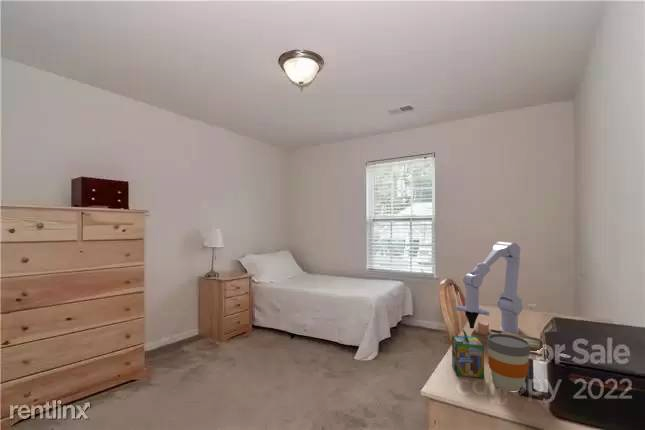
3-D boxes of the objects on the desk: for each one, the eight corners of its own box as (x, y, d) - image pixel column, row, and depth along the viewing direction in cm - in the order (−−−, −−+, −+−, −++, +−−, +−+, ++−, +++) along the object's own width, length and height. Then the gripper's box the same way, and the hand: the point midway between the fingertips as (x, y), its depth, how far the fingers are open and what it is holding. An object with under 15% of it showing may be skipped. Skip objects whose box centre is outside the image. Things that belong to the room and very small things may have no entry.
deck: (476, 331, 156) (476, 320, 156) (542, 344, 141) (542, 332, 141) (471, 339, 146) (471, 327, 146) (542, 355, 130) (542, 341, 130)
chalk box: (484, 379, 110) (484, 336, 110) (456, 376, 112) (456, 334, 112) (477, 366, 119) (477, 327, 119) (451, 364, 121) (451, 325, 121)
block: (479, 329, 151) (479, 321, 151) (488, 331, 149) (488, 323, 149) (477, 332, 148) (477, 323, 148) (487, 334, 146) (487, 325, 146)
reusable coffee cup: (537, 388, 104) (537, 342, 105) (518, 400, 98) (518, 351, 98) (498, 372, 115) (499, 330, 115) (479, 381, 108) (479, 337, 108)
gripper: (454, 298, 153) (453, 326, 152) (487, 303, 144) (487, 333, 144) (457, 295, 158) (457, 323, 158) (490, 300, 150) (490, 329, 150)
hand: (472, 327), depth 151 cm, fingers closed
